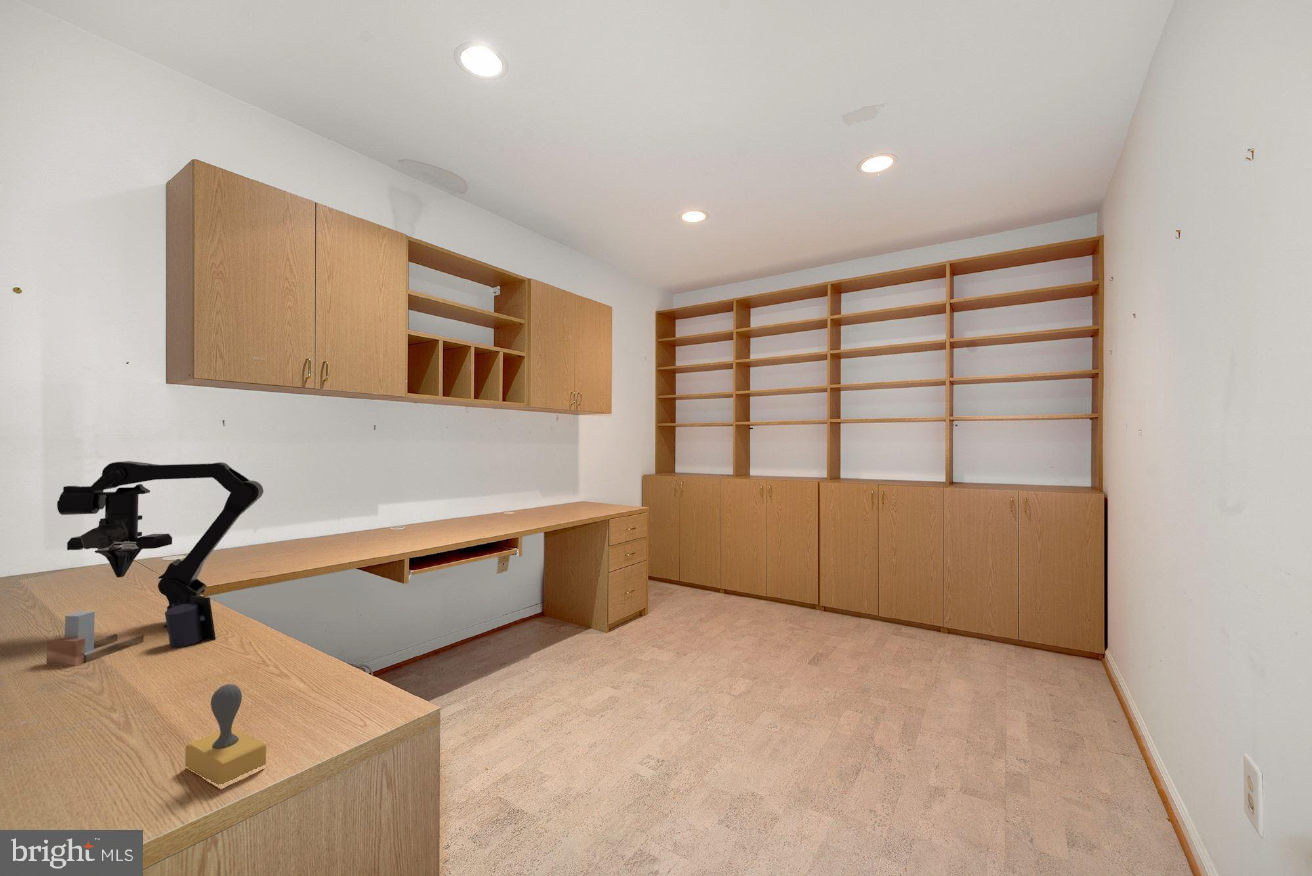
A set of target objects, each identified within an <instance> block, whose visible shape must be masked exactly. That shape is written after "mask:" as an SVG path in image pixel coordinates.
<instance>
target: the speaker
mask: <svg viewBox="0 0 1312 876" xmlns="http://www.w3.org/2000/svg"><path fill="white" fill-rule="evenodd" d="M190 598H191V603H188V604H182V605H178V606H175V607H172V608H170V609H168V610H167V609H166V611H165V612H164V615H165V621H166V623H165V624H167V627H166V628H167V629H166V630H167V633H168V641H169V646H170V647H172V648H174V649H175V648H176V649H177V648H178V649H179V648H183V647H184V648H185V647H188V646H191V645H195V644H196V643H198V642H200V641H201V640H202V639H204V640H211V641H215V640H216V639H217V638H216V630H215V624H214V623H215V622H214V619H213V611H212V603H211V597H208V596H205V597H199V596H190Z"/></svg>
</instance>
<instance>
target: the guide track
mask: <svg viewBox="0 0 1312 876" xmlns="http://www.w3.org/2000/svg"><path fill="white" fill-rule="evenodd" d="M144 640H145V639H144V634H139V635H136V636H134V637H131V638H128V639H124V640H122V641H120V642H118V634H117V633H114V634H110V635H107V636H104V637H102V638H98V639H96V640H95V639H94V650H96V651H93V652H91V653H88V654H85V638H65V637H53V638H50V639H47V640H46V665H48V666H74V667H75V666H78V665H81V664H87V663H89V662H91V661H95V660H97V659H100V658H102V657H106V656H108V655H110V654H113V653H116V652H119V651H121V650H125V649H127V648H130V647H133V646H135V645H138V644H141V643H143V642H144ZM114 642H117V643H114ZM112 643H113V644H112ZM109 644H111V645H109ZM106 645H108V646H106ZM103 646H105V647H103ZM100 647H102V648H100ZM98 648H100V649H98ZM105 655H106V656H105Z"/></svg>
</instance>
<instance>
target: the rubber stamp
mask: <svg viewBox="0 0 1312 876" xmlns="http://www.w3.org/2000/svg"><path fill="white" fill-rule="evenodd" d="M242 697H243V694H242V691H241V689H240V688H239V686H238V685H236V684H233V683H228V684H227V683H226V684H224V685H222V686H220V687H218V689H216V690H215V691H214V693H213V694H212V696H211V699H210V708H211V711H212V713H213V715H214V718H215V720H216V722H217V723H218V726H219V729H220V730H218V731H215V732H212V733H211V734H208V735H205V736H202V737H201V738H198V739H196V740H192V741H190V742H188V743H187V744H186V745H185V761H184V763H185V765H184V766H186V767H188V769H190V770H192V771H194V772H195V773H197V774H199V775H201V776H202V777H204V778H206V779H209V780H211V782H214V783H216V784H218V785H219V784H224V783H225V782H228V781H230V780H233V779H235V778H237V777H239V776H240V775H243V774H245V773H248V772H249V771H252V770H253V769H257V768H258V767H261V766H263V765H265V764H266V765H267V743H266V742H263V741H261V740H259V739H257V738H255V737H253V736H251V735H249V734H248V733H245V732H243V731H241V730H239V729H238V728H236V727H233V723H234V720H235V718H236V716H237V713H238V711H239V709H240V706H241V704H242V699H243V698H242Z"/></svg>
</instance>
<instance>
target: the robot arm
mask: <svg viewBox="0 0 1312 876" xmlns="http://www.w3.org/2000/svg"><path fill="white" fill-rule="evenodd" d="M208 478H209V479H210V478H212V479H214V480H215V481H217V483H219V484H220V486H221V487H223V488H224V489H225V490H226V491H228V492H229V495H228V497H227V499H226V501H225V503H224V507H223V509H222V510H221V512H220V513H219V514H218V516H217V517H216V518H215V520H214V521H213V522H212V524H210V526H209V527H208V529H207V530H206V531H204V533H203V535H202V536H201V537H200V539H199V540H198V541H197V543H196V544H195V545H194V546H193V548H192V549H191V550H190V551H189V553H188V554H187V555H186V556H185V557H184V558H183V559H182V560H181V559H180V558H177V559H175V560H174V561H172V562H170V563H169V565H168V566H167V567H166V570H165V571H164V573H162V575H160V576H158V577H157V578H158V579H160V580H158V582H157V583H158V584H157V588H158V591H159V593H160V594H162V595H163V596H165V597H166V599H167V602H168V605H167V607H166V611H167V610H168V609H170V608H172V607H175V606H178V605H182V604H188V603H191V598H190V596H199V597H206V595H205V596H204V595H203V594H204V593H205V591H206V589H207V584H206V583H204V582H203V581H201V580H199V579H198V577H199V575H200V573H201V571H202V568H203V566H204V563H205V561H206V560H207V559H208V558H209V556H210V555H211V553H212V552H213V551H214V549H216V547H217V546H218V545H219V544H220V542H221V541H222V539H223V538H224V536H226V534H227V533H228V531H229V530H230V529H231V528H232V526H233V525H234V524H235V523H236V521H237V520H238V519H239V518H240V516H241V515H243V514H244V513H245V512H246V511H247V510H248V509H249V508H251V507H252V506H253V505H254V504H255V503H256V502H257V501H258V500H260V498H261V497H262V496H263V494H264V488H263V486H262V484H261V483H260V482H258V481H256V480H251V479H248V478H247V477H246V476H245V475H243V474H241V473H240V472H238V471H237V470H236V469H233V468H232V467H231V466H230V465H228V464H227V463H226V462H214V463H180V464H179V463H178V464H176V463H175V464H155V463H147V462H140V461H132V460H131V461H130V460H129V461H128V460H126V461H115V462H111V463H108V464H107V465H106V466H104V468H103V469H102V472H101V476H100V477H99V478H98V479H97V480H96V481H94V482H93V484H91V485H90V486H88V485H87V486H80V485H65V486H63V487H62V492H61V494H60V495H59V497H58V500H57V503H56V508H57V512H58V513H59V514H60V515H62V516H70V515H71V516H72V515H74V516H75V515H97V514H98V513H99V512H100V510H103V509H104V511H105V512H104V517H103V518H100V519H99V521H98V525H97V526H96V527H94V528H92V529H90V530H88V531H87V532H84V533H83V534H81V535H78V536H74V537H70V538H69V539H68V541H67V542H66V550H67V551H81V550H90V549H96V550H94V552H95V553H96V554H100V555H102V556H103V557H105V559H107V561H108V563H109V565H110V567H111V569H112V571H113V572H114V575H115V576H116V578H124V576H125V575H126V574H127V572H128V570H129V569H130V567H131V566H132V564H133V562H134V561H135V559H136V558H137V556H138V555H139V554H140V553H141V551H142V550H150V549H151V550H152V549H153V550H154V549H158V548H162V547H167V546H170V545H171V546H172V545H173V537H172V536H171V534H170V533H152V534H147V535H143V531H139V521H140V520H143V515H139V495H145V494H149V493H151V490H150V489H148V488H146V487H145V486H144V485H143V484H141V483H142V482H149V481H155V480H156V481H160V480H179V479H180V480H183V479H184V480H185V479H186V480H187V479H208ZM137 483H139V484H137ZM132 484H136V485H134V486H132V487H131V486H130V487H127V486H126V485H132ZM120 486H126V487H120ZM117 487H118V488H117ZM116 488H117V489H116ZM111 489H116V490H115V491H105V490H111ZM95 553H94V554H95ZM163 628H167V623H165V624H163Z"/></svg>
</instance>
